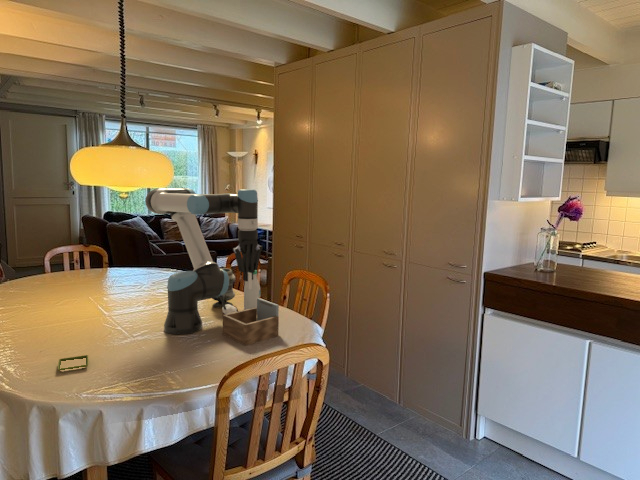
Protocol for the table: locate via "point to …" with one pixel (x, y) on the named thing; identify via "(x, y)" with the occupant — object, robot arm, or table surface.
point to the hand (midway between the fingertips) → (248, 288)
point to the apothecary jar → (229, 294)
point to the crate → (249, 326)
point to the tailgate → (266, 309)
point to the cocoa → (227, 308)
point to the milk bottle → (252, 293)
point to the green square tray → (73, 359)
